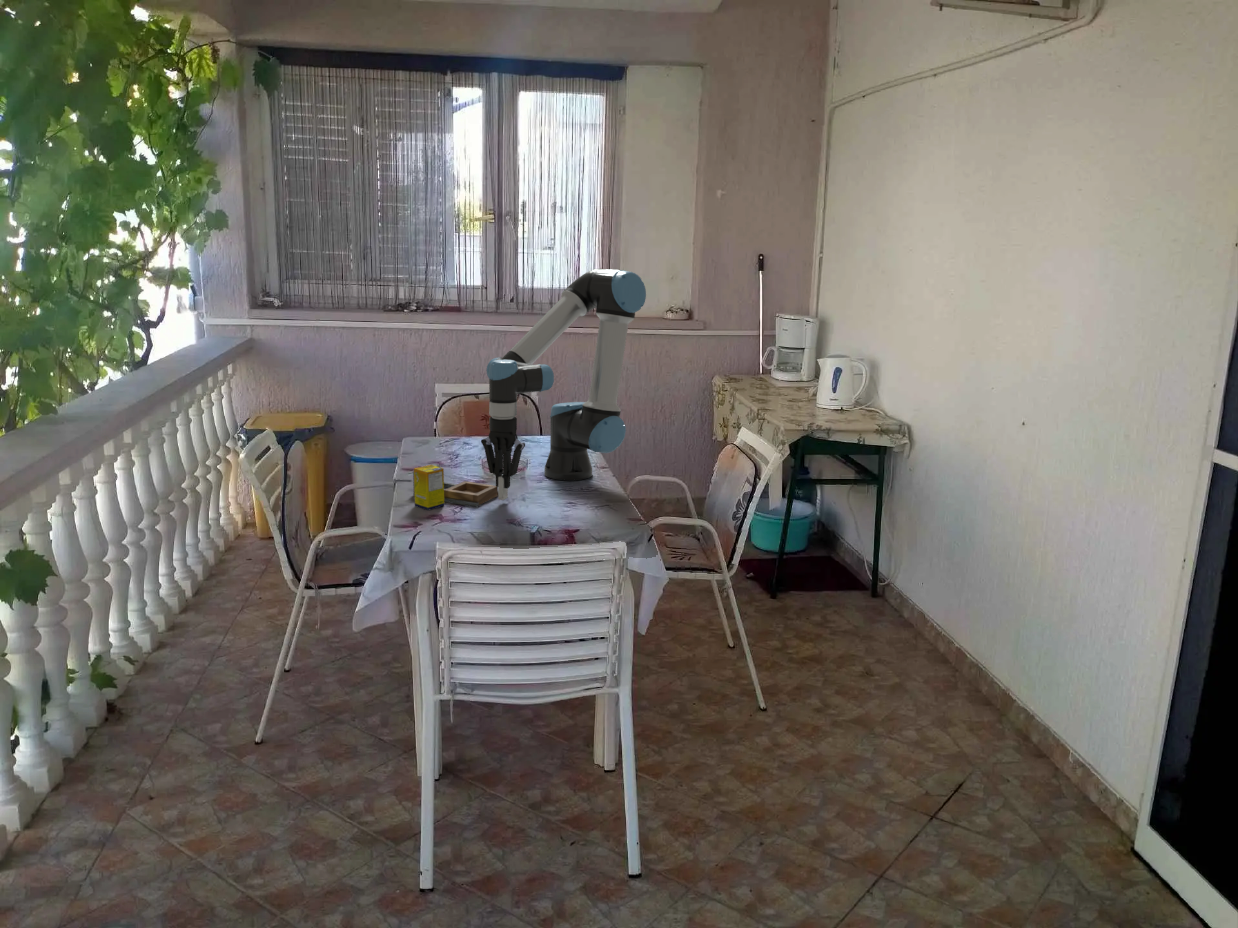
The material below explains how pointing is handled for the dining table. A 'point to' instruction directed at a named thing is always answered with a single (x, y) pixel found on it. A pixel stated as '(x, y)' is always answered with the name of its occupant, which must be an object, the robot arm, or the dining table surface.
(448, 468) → the dining table surface
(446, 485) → the track
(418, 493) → the supplement box
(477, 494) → the tray
